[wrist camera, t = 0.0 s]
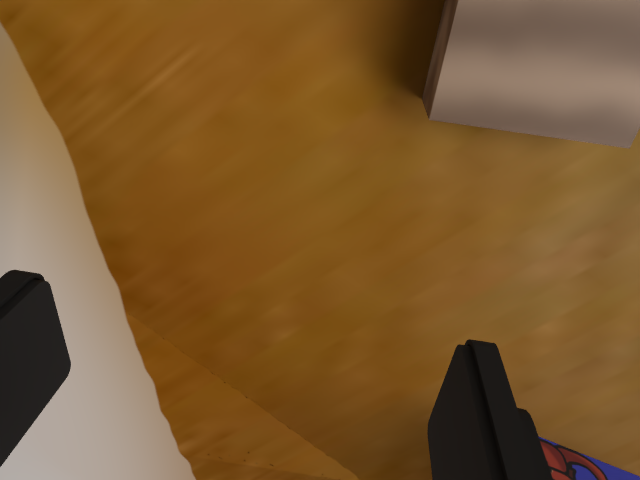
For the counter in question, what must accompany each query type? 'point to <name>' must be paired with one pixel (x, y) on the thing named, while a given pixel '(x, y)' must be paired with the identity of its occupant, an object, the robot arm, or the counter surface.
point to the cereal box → (579, 465)
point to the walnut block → (539, 68)
